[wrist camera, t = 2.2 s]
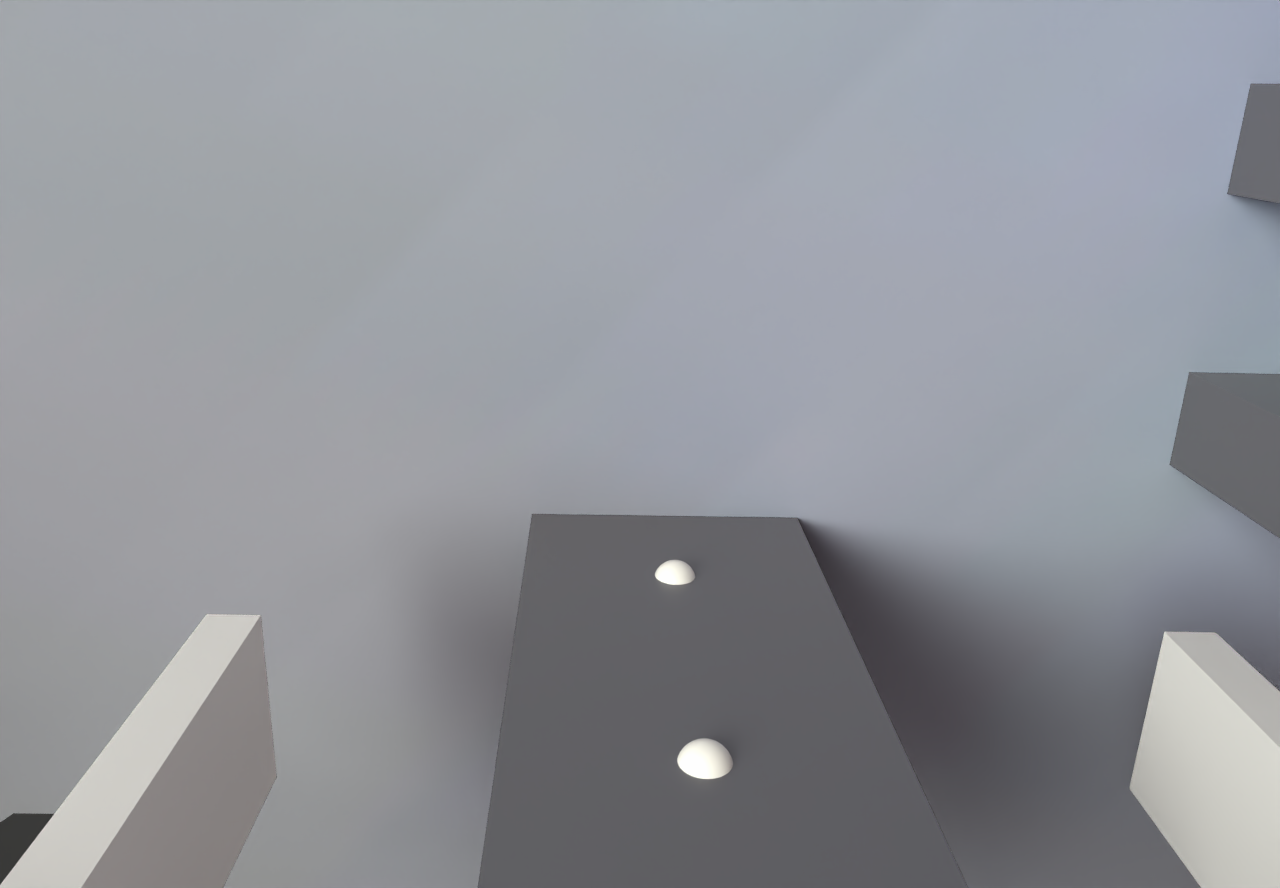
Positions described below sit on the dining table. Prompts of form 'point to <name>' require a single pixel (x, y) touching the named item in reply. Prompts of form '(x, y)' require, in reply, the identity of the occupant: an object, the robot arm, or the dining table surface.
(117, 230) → the dining table surface
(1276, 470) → the domino
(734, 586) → the domino
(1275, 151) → the domino
